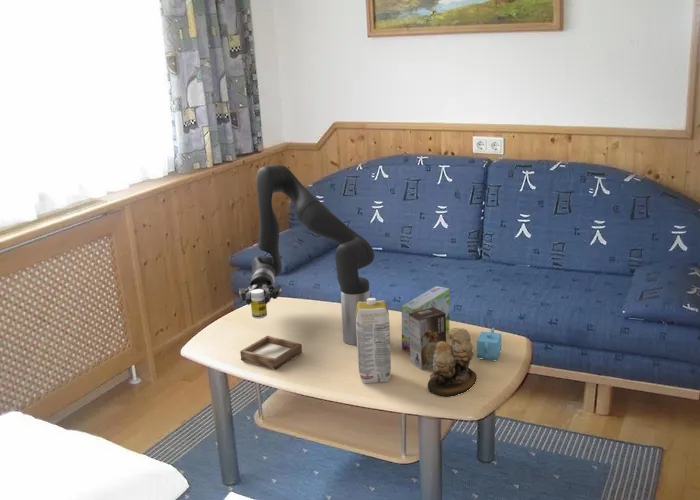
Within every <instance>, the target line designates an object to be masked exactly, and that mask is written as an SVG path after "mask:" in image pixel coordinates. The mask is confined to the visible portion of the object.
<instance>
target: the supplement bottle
mask: <svg viewBox="0 0 700 500" xmlns="http://www.w3.org/2000/svg"><path fill="white" fill-rule="evenodd" d="M251 296H252V297H251V304H250V308H251V316H252V318H253V319H257V320H259V319H264V318H266V317H267V316H268V309H267V304H265V296H264V290H262V289H255V290H252V291H251Z"/></svg>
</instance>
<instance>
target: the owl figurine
mask: <svg viewBox="0 0 700 500" xmlns="http://www.w3.org/2000/svg"><path fill="white" fill-rule="evenodd" d="M448 337H449V339H450V341H451V342H450V344H449V342H447V341H446V342H444V341H440V342H438V343H437V346H436V349H435V351H434V355H433V357H434V359H433V367H432V369H433V371H434V372H432V373H430V374H429V377H430V378H429V380H428V383H427V388H428V391H429V393H431V394H432V395H435V396H437V397H439V398H440V397H442V398H451V396H453V397H457V396H459V395H458V394H460V395H462V394H461V393H463V394H465V393H467V392H468V391H469V389H470V388H471V387H472V386H473V385H474V384H475V385H476V383H477V381H476V380H477V379H478V377H477V373H476V372H475V371H474V370H472V369H471V368H470V367H469V366H470V363H471V360H472V358H473V356H474V351H473V349H474V345H473V344H472V342H471V340H472V338H471V334H470V333H469V331H468V329H465V328H459V327H452V328H451V329H449V331H448ZM475 382H476V383H475ZM475 385H474V386H475ZM474 386H473V387H474ZM473 387H472V388H473ZM472 388H471V389H472ZM471 389H470V390H471ZM467 390H468V391H467ZM466 391H467V392H466ZM464 392H465V393H464ZM456 395H457V396H456Z"/></svg>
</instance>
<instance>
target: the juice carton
mask: <svg viewBox="0 0 700 500" xmlns="http://www.w3.org/2000/svg"><path fill="white" fill-rule="evenodd" d="M390 328H391V327H390V314H389V310H388V304H387V303H386V301H385V300H377V298H375V297H370V298H368V299H367V302H358V303H357V309H356V331H357V345H356V348H357V363H358V364H357V365H358V373H359V377H360V380H361V383H362V384H371V383H372V384H373V383H389V380H390V377H391V371H392V367H391V365H392V361H391V360H392V359H391V355H392V354H391V334H390V333H391V332H390V331H391V330H390Z"/></svg>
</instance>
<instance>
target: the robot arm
mask: <svg viewBox="0 0 700 500" xmlns="http://www.w3.org/2000/svg"><path fill="white" fill-rule="evenodd" d="M255 182H256V194H257V207H258V215H259V216H258V217H259V218H258V219H259V225H258V226H259V230H258V241H257V243H258V244H257V245H258V246H257V247H258V249H259V250H260V251H263V252H265V253H268V254H269V255H271V256H264V255H257V256H255V257H254V258H253V259H252V261H251V270H252V277H251V280H250V282H249V286H248V287H247V288H244V287H241V286H240V287H239V288H238V290H239V297H240V300H241V301H244V302H245V304H246V305H248V306H251V297H252V296H251V291H252V290H255V289H262V290H264V296H265V304H266V305H268V303H270V302H271V299H273V300H277V299H278V297H279V296H280V295H281V294H282V285H281V284H278V285H276V286H275V278H277V277H279V276H280V275H281V273H282V270H283V264H282V260H281V257H280V250H279V247H280V244H279V242H280V223H279V221H278V218H277V216H276V213H275V211H274V208H273V195H274V193H283V194H284V195H286V196H287V198H289V199H290V201H292V202H293V203H292V204H293V206H294V207H293V208H294V211H295V215H296V218H297V219H298V220H299V222H301V224H302V225H304V227H306V229H308V230H309V231H311V233H314V234H316V235H318V236H320V237H323V238H325V239H328V240H331V241H333V242H335V243H337V244H339V245H338V246H337V248H336V249H335V255H334V259H335V268H336V278H337V281H338V285H339V287H340V301H341V302H340V303H341V304H340V306H341V320H342V321H341V322H342V335H343V336H342V338H343V339H342V340H343V342H344V343H345V344H347V345H353V346H357V331H356V309H357V303H358V302H367V299H368V298H371V295H370V282H369V280H368V279H367V278H365V277H361V276H359V270H360V269H363V268H365V267H368V266H369V265H371V264H372V263H373V262H374V259H375V253H374V249H373V247H372V245H371V244H370V242H368V241H367V240H366V238H364V237H362V236H361V235H360V234H359V233H357V232H355V231H354V230H353V229H352V228H350V227H349V226H348V225H346V224H345V223H344V222H343V221H342V220H341V219H340V218H338V217H337V216H336V215H335V214H334V213H333V212H332V211H331V210H330V209H329V208H328V207H326V206H325V204H324V203H323V202H321V201H320V200H319V199H318V198H317V197H316V196H314V194H312V193H311V192H310V190H309V189H307V188H306V187H305V186H304V185H303V184H302V183H301V181H299V179H298V178H297V177H296V176H295V174H294V173H293V172H292V171H291V169H289V168H288V167H286V166H285V165H282V164H275V165H274V164H273V165H266V166H265V165H264V166H262V167H260V168H259V169H258V171H257V174H256V181H255Z"/></svg>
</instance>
